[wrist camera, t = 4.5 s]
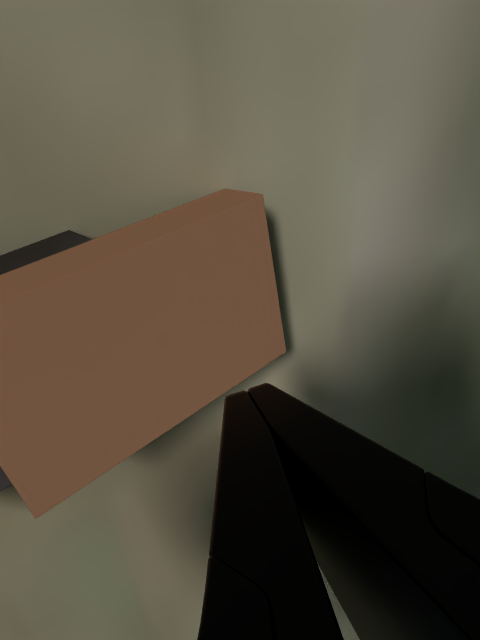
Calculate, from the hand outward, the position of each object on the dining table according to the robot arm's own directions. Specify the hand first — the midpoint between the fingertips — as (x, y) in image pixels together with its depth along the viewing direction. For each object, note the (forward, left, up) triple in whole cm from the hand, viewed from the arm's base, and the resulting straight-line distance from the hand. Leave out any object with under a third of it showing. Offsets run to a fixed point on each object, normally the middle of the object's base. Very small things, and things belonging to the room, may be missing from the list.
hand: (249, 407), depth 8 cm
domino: (-1, -2, -5) cm, 6 cm away
